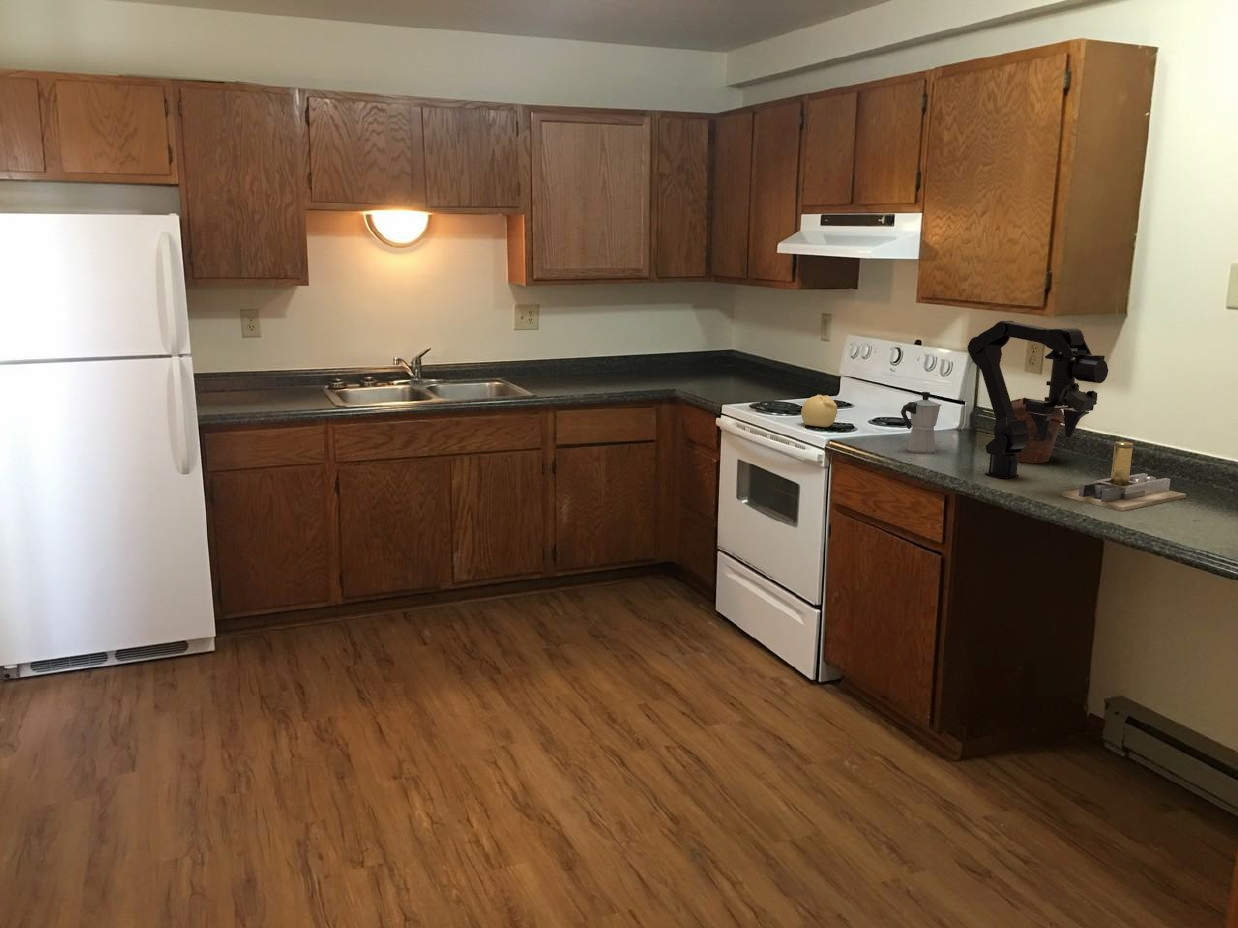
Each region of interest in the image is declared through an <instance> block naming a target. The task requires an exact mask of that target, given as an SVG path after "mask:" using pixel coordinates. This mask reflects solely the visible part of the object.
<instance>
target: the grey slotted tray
mask: <svg viewBox="0 0 1238 928" xmlns="http://www.w3.org/2000/svg"><path fill="white" fill-rule="evenodd" d="M1110 482H1111V477H1110V478H1108V477H1107V478H1103V479H1097V480H1094V481H1092V482H1085V483H1081V484H1079V488H1078V489H1079V496H1080V497H1087V496H1092V495H1093V498H1095V499H1101V502H1104V503H1107V502H1112V501H1117V500H1128V499H1133V498H1138V497H1143V496H1145V495H1148V494H1153V493H1158V492H1163V491H1168V490H1170V485H1171V478H1168V477H1163V478H1158V479H1157V478H1156V476H1152V475H1148V473H1144V472H1142V473H1137V474H1131V475H1130V474H1129V483H1128V486H1120V485H1116V484H1112V483H1110Z"/></svg>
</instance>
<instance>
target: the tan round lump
mask: <svg viewBox="0 0 1238 928" xmlns="http://www.w3.org/2000/svg"><path fill="white" fill-rule="evenodd" d="M801 407H802V408H801V411H800V413H801V414H800V415H801V418H802V421H803V423H804V424H805V425H806V426H812V427H822V428H829V427H830V426H832V424H834V423H835V420H836V418H837V414H838V405H837V403H836V402H835V401H834V400H833V398H831V396H829V395H822V394H817V395H815V396H811V397H809V398H808V399H806V400H805V401H804V403H803V404H802V406H801Z"/></svg>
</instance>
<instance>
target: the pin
mask: <svg viewBox="0 0 1238 928" xmlns="http://www.w3.org/2000/svg"><path fill="white" fill-rule="evenodd" d="M1113 447H1114V449H1113V458H1112V466H1111V473H1110V478H1111V482H1110V483H1112V484H1116V485H1120V486H1128V483H1129V476H1130V472H1131V465H1132V456H1133V447H1134V443H1133V442H1130V441H1129V442H1128V441H1115V442H1114V445H1113Z"/></svg>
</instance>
